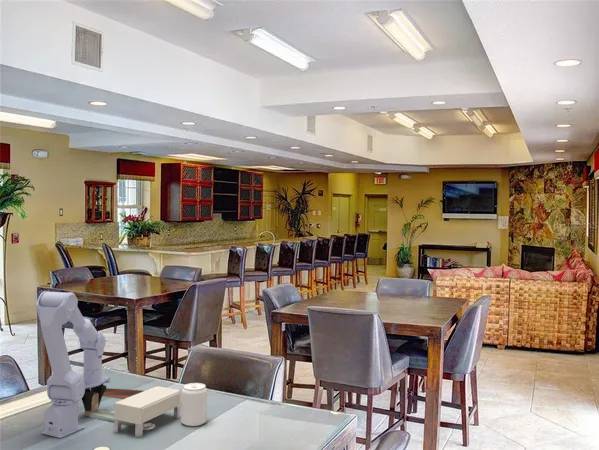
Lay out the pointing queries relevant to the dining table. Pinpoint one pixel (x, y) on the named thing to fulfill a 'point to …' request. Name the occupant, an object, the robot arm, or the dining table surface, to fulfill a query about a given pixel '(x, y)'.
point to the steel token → (148, 426)
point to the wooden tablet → (120, 393)
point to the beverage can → (194, 404)
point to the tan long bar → (102, 412)
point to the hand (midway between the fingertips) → (91, 409)
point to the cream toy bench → (146, 407)
